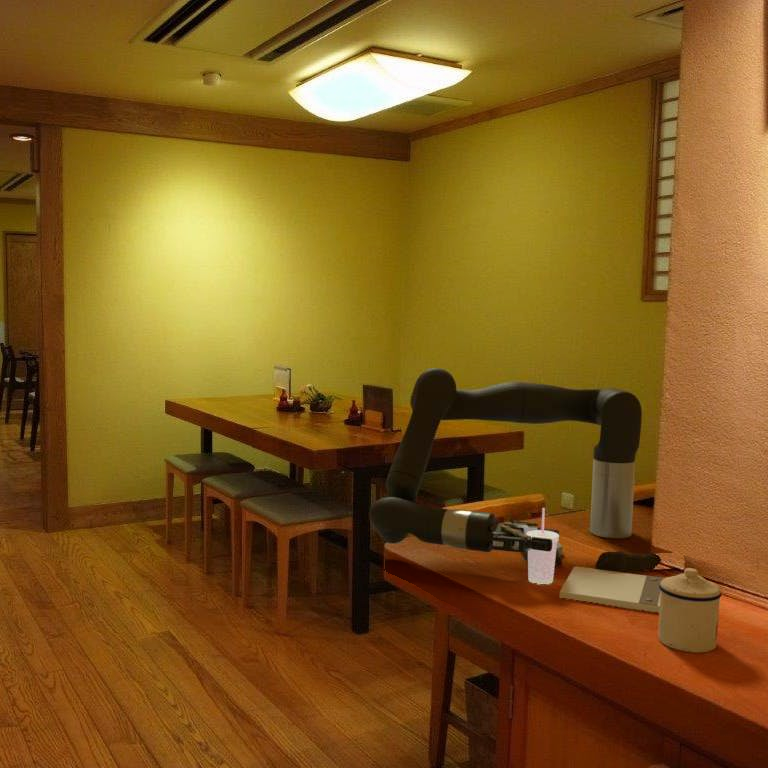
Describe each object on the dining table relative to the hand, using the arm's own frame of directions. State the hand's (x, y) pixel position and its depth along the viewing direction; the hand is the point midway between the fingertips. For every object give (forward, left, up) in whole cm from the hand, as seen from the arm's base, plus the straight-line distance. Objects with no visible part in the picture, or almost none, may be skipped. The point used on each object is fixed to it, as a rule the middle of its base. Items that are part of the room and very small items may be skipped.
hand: (555, 540), depth 157 cm
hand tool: (-13, +15, -9) cm, 22 cm away
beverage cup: (0, -2, -8) cm, 9 cm away
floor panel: (0, +15, -8) cm, 17 cm away
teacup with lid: (+18, +24, -8) cm, 31 cm away
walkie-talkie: (-18, -6, -9) cm, 21 cm away
